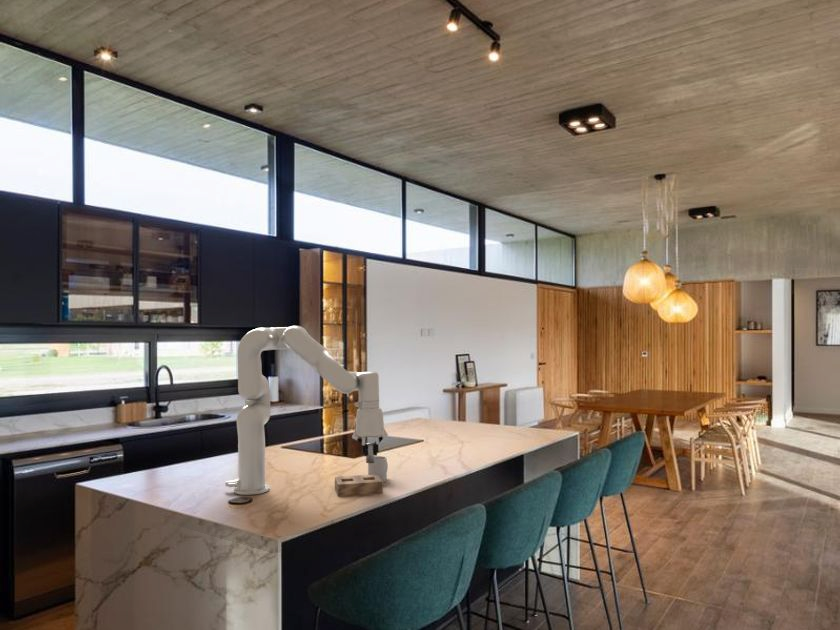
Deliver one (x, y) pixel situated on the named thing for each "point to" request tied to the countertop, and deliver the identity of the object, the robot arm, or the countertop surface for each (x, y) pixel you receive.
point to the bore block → (358, 485)
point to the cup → (379, 468)
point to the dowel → (370, 453)
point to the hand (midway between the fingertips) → (370, 454)
